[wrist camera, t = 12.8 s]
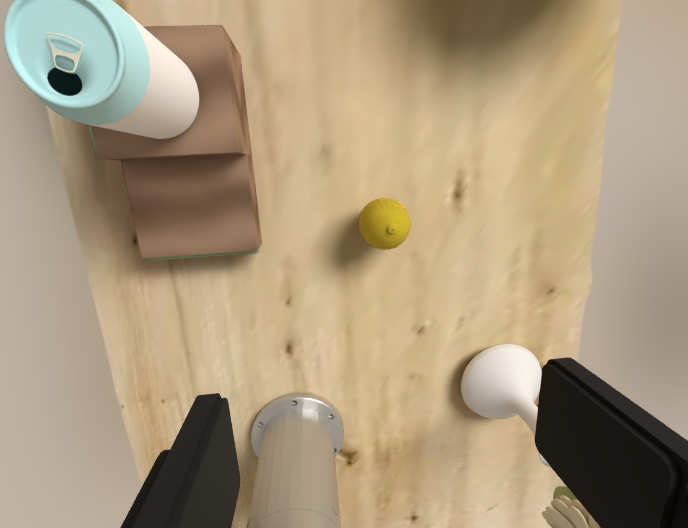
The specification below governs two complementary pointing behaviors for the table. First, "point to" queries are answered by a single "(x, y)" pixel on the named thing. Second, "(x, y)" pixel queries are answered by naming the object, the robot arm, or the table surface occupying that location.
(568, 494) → the flower in vase
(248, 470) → the table surface
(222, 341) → the table surface
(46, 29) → the can
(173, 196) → the stand
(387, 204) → the lemon
